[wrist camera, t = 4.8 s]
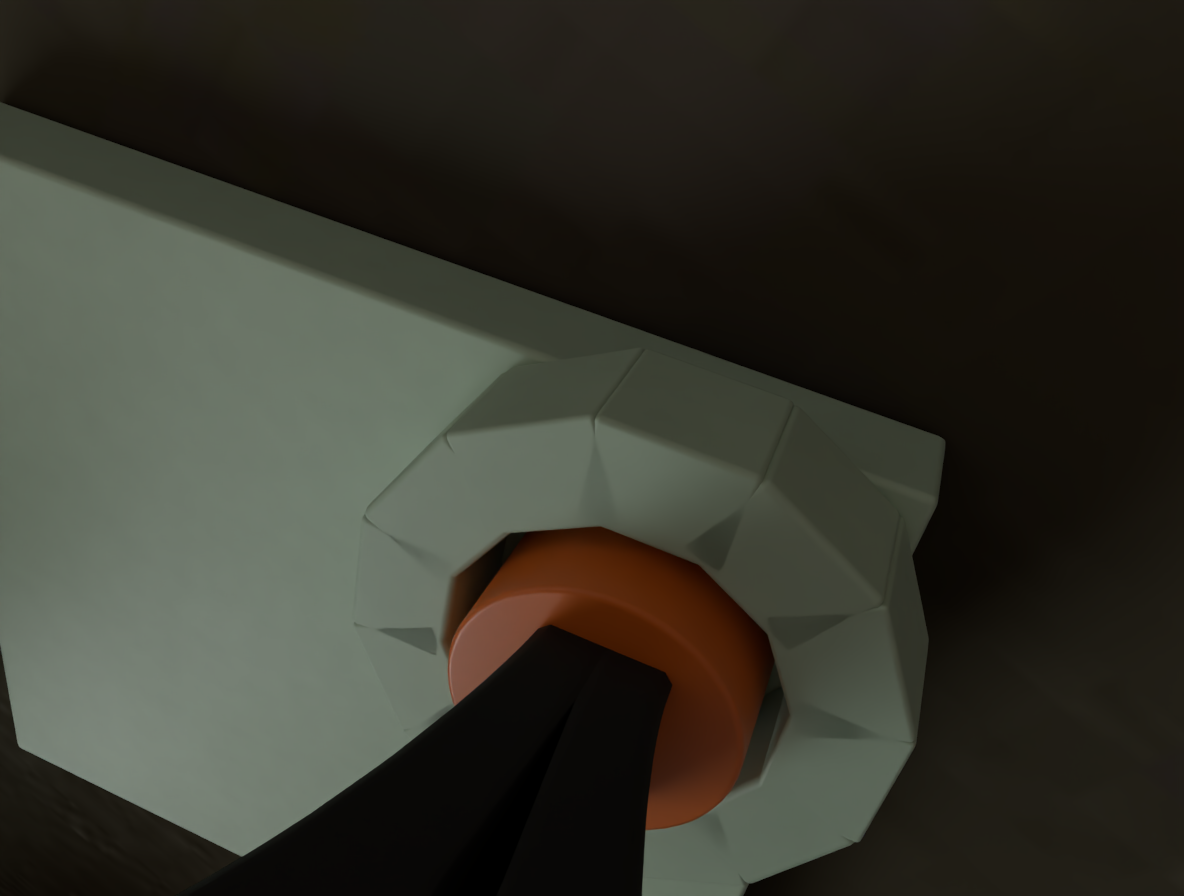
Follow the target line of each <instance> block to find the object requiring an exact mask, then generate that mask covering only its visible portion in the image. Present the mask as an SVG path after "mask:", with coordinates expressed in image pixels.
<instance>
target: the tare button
mask: <svg viewBox="0 0 1184 896" xmlns="http://www.w3.org/2000/svg"><path fill="white" fill-rule="evenodd" d="M548 625H553V626H556V627H558V628H560V629H563V630H565V631H567V632H570V633H572V634H575V635H577V636H579V637H582V638H584V639H587V640H589V641H591V642H594V643H596V644H599V645H601V646H603V647H606V648H608V649H611V650H613V651H615V652H618V653H620V654H622V655H625V656H627V657H630V658H632V659H634V660H637V661H639V662H642V663H644V664H646V665H649V666H651V667H654V668H656V669H658V670H661V671H663V672H665V673H666V675H667V676H668V678H669V680H670V682H671V683H672V688H671V691H670V694H669V697H668V699H667V702H666V705H665V708H664V711H663V715H662V719H661V723H660V727H659V732H658V736H657V742H656V747H655V753H654V758H653V766H652V773H651V781H650V788H649V796H648V806H647V817H646V830H656V829H665V828H670V827H675V826H679V825H682V824H685V823H688V822H690V821H693V820H696V819H697V818H699V817H701V816H703V815H705V814H706V813H708V812H709V811H711V810H712V809H713V808H714V807H716V806H717V805H718V804H719V803H720V802H722V801H723V799H724V798H725V797H726V796H727V795H728V794H729V792H730V791H731V790H732V789H733V787H734V785H735V783H736V781H737V780H738V778H739V775H740V772H741V769H742V766H743V763H744V760H745V757H746V753H747V750H748V747H749V744H750V740H751V737H752V734H753V730H754V727H755V724H756V721H757V717H758V714H759V711H760V708H761V704H762V701H763V698H764V695H765V691H766V688H767V685H768V682H769V678H770V675H771V672H772V669H773V665H774V662H775V660H774V656H773V653H772V649H771V645H770V642H769V638H768V634H767V633H766V632H765V631H764V630H763V629H762V628H761V627H760V626H759V625H758V624H757V623H756V622H755V621H754V620H753V619H752V618H751V617H750V616H749V615H748V614H747V613H746V612H745V611H744V610H743V609H742V608H741V607H740V606H739V605H738V604H737V603H736V602H735V601H734V600H733V599H732V598H731V597H730V596H729V595H728V594H727V593H726V592H725V591H724V590H723V589H722V588H721V587H720V586H719V585H718V584H717V583H716V582H715V581H714V580H713V579H712V578H711V577H710V576H709V575H708V574H707V573H706V572H705V571H704V570H703V569H702V568H701V567H700V566H699V565H698V564H695V563H693V562H690V561H688V560H685V559H682V558H680V557H677V556H675V555H672V554H670V553H667V552H665V551H662V550H660V549H657V548H655V547H652V546H650V545H647V544H645V543H642V542H639V541H637V540H634V539H632V538H629V537H627V536H624V535H622V534H619V533H617V532H614V531H612V530H609V529H607V528H604V527H602V526H598V527H584V528H571V529H557V530H543V531H530V532H526V534H525V535H524V536H523V538H522V539H521V540H520V542H519V543H518V545H517V546H516V547H515V549H514V550H513V552H512V553H511V554H510V556H509V557H508V558H507V560H506V561H505V563H504V564H503V565H502V567H501V568H500V570H499V571H498V572H497V574H496V575H495V577H494V578H493V579H492V581H491V582H490V583H489V585H488V586H487V588H486V589H485V590H484V592H483V593H482V595H481V596H480V597H479V599H478V600H477V602H476V603H475V604H474V606H473V607H472V608H471V610H470V611H469V613H468V614H467V615H466V617H465V618H464V620H463V621H462V622H461V624H460V625H459V627H458V629H457V631H456V633H455V635H454V637H453V640H452V643H451V647H450V651H449V659H448V683H449V689H450V693H451V697H452V701H453V704H454V706H455V705H457V704H458V703H459V702H460V701H461V700H462V699H464V698H465V697H466V696H467V695H468V694H469V693H471V692H472V691H473V690H474V689H475V688H476V687H478V686H479V685H480V684H481V683H482V682H483V681H484V680H486V679H487V678H488V677H489V676H490V675H491V674H492V673H493V672H494V671H496V670H497V669H498V668H499V667H500V666H501V665H502V664H503V663H504V662H505V661H506V660H507V659H508V658H509V657H511V656H512V655H513V654H514V653H515V652H516V651H517V650H518V649H519V648H520V647H521V646H522V645H523V644H524V643H525V642H526V641H527V640H528V639H529V638H530V637H531V636H532V635H533V633H534V632H535V631H536V630H537V629H538V628H541V627H544V626H548Z"/></svg>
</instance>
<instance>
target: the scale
mask: <svg viewBox="0 0 1184 896" xmlns="http://www.w3.org/2000/svg"><path fill="white" fill-rule="evenodd" d="M944 453H945V440H944V439H943V438H941V437H940V436H937V435H934V434H931V433H928V432H926V431H923V430H920V429H917V428H914V427H912V426H909V425H906V424H903V423H900V422H898V421H895V420H892V419H889V418H886V417H884V416H881V415H878V414H875V413H872V412H869V411H867V410H864V409H861V408H858V407H855V406H853V405H850V404H847V403H844V402H841V401H839V400H836V399H833V398H830V397H827V396H824V395H822V394H819V393H816V392H813V391H810V390H808V389H805V388H802V387H799V386H796V385H794V384H791V383H788V382H785V381H782V380H780V379H777V378H774V377H771V376H768V375H765V374H763V373H760V372H757V371H754V370H751V369H749V368H746V367H743V366H740V365H737V364H735V363H732V362H729V361H726V360H723V359H721V358H718V357H715V356H712V355H709V354H706V353H704V352H701V351H698V350H695V349H692V348H690V347H687V346H684V345H681V344H678V343H676V342H673V341H670V340H667V339H664V338H661V337H659V336H656V335H653V334H650V333H647V332H645V331H642V330H639V329H636V328H633V327H631V326H628V325H625V324H622V323H619V322H617V321H614V320H611V319H608V318H605V317H602V316H600V315H597V314H594V313H591V312H588V311H586V310H583V309H580V308H577V307H574V306H572V305H569V304H566V303H563V302H560V301H558V300H555V299H552V298H549V297H546V296H543V295H541V294H538V293H535V292H532V291H529V290H527V289H524V288H521V287H518V286H515V285H513V284H510V283H507V282H504V281H501V280H498V279H496V278H493V277H490V276H487V275H484V274H482V273H479V272H476V271H473V270H470V269H468V268H465V267H462V266H459V265H456V264H454V263H451V262H448V261H445V260H442V259H439V258H437V257H434V256H431V255H428V254H425V253H423V252H420V251H417V250H414V249H411V248H409V247H406V246H403V245H400V244H397V243H395V242H392V241H389V240H386V239H383V238H380V237H378V236H375V235H372V234H369V233H366V232H364V231H361V230H358V229H355V228H352V227H350V226H347V225H344V224H341V223H338V222H335V221H333V220H330V219H327V218H324V217H321V216H319V215H316V214H313V213H310V212H307V211H305V210H302V209H299V208H296V207H293V206H291V205H288V204H285V203H282V202H279V201H276V200H274V199H271V198H268V197H265V196H262V195H260V194H257V193H254V192H251V191H248V190H246V189H243V188H240V187H237V186H234V185H232V184H229V183H226V182H223V181H220V180H217V179H215V178H212V177H209V176H206V175H203V174H201V173H198V172H195V171H192V170H189V169H187V168H184V167H181V166H178V165H175V164H172V163H170V162H167V161H164V160H161V159H158V158H156V157H153V156H150V155H147V154H144V153H142V152H139V151H136V150H133V149H130V148H128V147H125V146H122V145H119V144H116V143H113V142H111V141H108V140H105V139H102V138H99V137H97V136H94V135H91V134H88V133H85V132H83V131H80V130H77V129H74V128H71V127H69V126H66V125H63V124H60V123H57V122H54V121H52V120H49V119H46V118H43V117H40V116H38V115H35V114H32V113H29V112H26V111H24V110H21V109H18V108H15V107H12V106H9V105H7V104H4V103H1V102H0V646H1V651H2V657H3V663H4V668H5V674H6V680H7V685H8V691H9V697H10V702H11V708H12V714H13V719H14V725H15V731H16V736H17V742H18V745H19V747H20V748H22V749H24V750H26V751H28V752H30V753H32V754H34V755H36V756H38V757H40V758H42V759H44V760H46V761H48V762H50V763H52V764H54V765H57V766H59V767H61V768H63V769H65V770H67V771H69V772H71V773H73V774H75V775H77V776H79V777H81V778H83V779H85V780H87V781H89V782H91V783H93V784H95V785H97V786H99V787H101V788H103V789H105V790H107V791H109V792H111V793H113V794H116V795H118V796H120V797H122V798H124V799H126V800H128V801H130V802H132V803H134V804H136V805H138V806H140V807H142V808H144V809H146V810H148V811H150V812H152V813H154V814H156V815H158V816H160V817H162V818H164V819H166V820H168V821H170V822H172V823H175V824H177V825H179V826H181V827H183V828H185V829H187V830H189V831H191V832H193V833H195V834H197V835H199V836H201V837H203V838H205V839H207V840H209V841H211V842H213V843H215V844H217V845H219V846H221V847H223V848H225V849H227V850H229V851H231V852H234V853H236V854H238V855H240V856H244V855H246V854H247V853H249V852H251V851H252V850H254V849H256V848H257V847H259V846H260V845H262V844H264V843H265V842H267V841H268V840H270V839H272V838H273V837H275V836H276V835H278V834H280V833H281V832H283V831H284V830H286V829H287V828H289V827H290V826H292V825H293V824H295V823H297V822H298V821H300V820H301V819H303V818H304V817H306V816H307V815H309V814H310V813H312V812H313V811H315V810H316V809H317V808H319V807H320V806H322V805H323V804H325V803H326V802H327V801H329V800H330V799H332V798H333V797H335V796H336V795H337V794H339V793H340V792H342V791H343V790H345V789H346V788H347V787H349V786H350V785H352V784H353V783H354V782H356V781H357V780H359V779H360V778H362V777H363V776H364V775H366V774H367V773H369V772H370V771H372V770H373V769H374V768H376V767H377V766H379V765H380V764H381V763H383V762H384V761H385V760H387V759H388V758H389V757H391V756H392V755H393V754H395V753H396V752H397V751H399V750H400V749H401V748H402V747H404V746H405V745H406V744H408V743H409V742H410V741H411V740H413V739H414V738H415V737H416V736H418V735H419V734H420V733H421V732H423V731H424V730H425V729H427V728H428V727H429V726H430V725H432V724H433V723H434V722H435V721H437V720H438V719H439V718H440V717H442V716H443V715H444V714H446V713H447V712H448V711H449V710H451V709H452V708H453V707H454V704H453V701H452V697H451V693H450V689H449V683H448V659H449V651H450V647H451V643H452V640H453V637H454V635H455V633H456V631H457V629H458V627H459V625H460V624H461V622H462V621H463V620H464V618H465V617H466V615H467V614H468V613H469V611H470V610H471V608H472V607H473V606H474V604H475V603H476V602H477V600H478V599H479V597H480V596H481V595H482V593H483V592H484V590H485V589H486V588H487V586H488V585H489V583H490V582H491V581H492V579H493V578H494V577H495V575H496V574H497V572H498V571H499V570H500V568H501V567H502V565H503V564H504V563H505V561H506V560H507V558H508V557H509V556H510V554H511V553H512V552H513V550H514V549H515V547H516V546H517V545H518V543H519V542H520V540H521V539H522V538H523V536H524V535H525V534H526V532H530V531H543V530H557V529H571V528H584V527H598V526H602V527H604V528H607V529H609V530H612V531H614V532H617V533H619V534H622V535H624V536H627V537H629V538H632V539H634V540H637V541H639V542H642V543H645V544H647V545H650V546H652V547H655V548H657V549H660V550H662V551H665V552H667V553H670V554H672V555H675V556H677V557H680V558H682V559H685V560H688V561H690V562H693V563H695V564H698V565H699V566H700V567H701V568H702V569H703V570H704V571H705V572H706V573H707V574H708V575H709V576H710V577H711V578H712V579H713V580H714V581H715V582H716V583H717V584H718V585H719V586H720V587H721V588H722V589H723V590H724V591H725V592H726V593H727V594H728V595H729V596H730V597H731V598H732V599H733V600H734V601H735V602H736V603H737V604H738V605H739V606H740V607H741V608H742V609H743V610H744V611H745V612H746V613H747V614H748V615H749V616H750V617H751V618H752V619H753V620H754V621H755V622H756V623H757V624H758V625H759V626H760V627H761V628H762V629H763V630H764V631H765V632H766V633H767V634H768V638H769V642H770V645H771V649H772V653H773V656H774V660H775V662H774V665H773V669H772V672H771V675H770V678H769V682H768V685H767V688H766V691H765V695H764V698H763V701H762V704H761V708H760V711H759V714H758V717H757V721H756V724H755V727H754V730H753V734H752V737H751V740H750V744H749V747H748V750H747V753H746V757H745V760H744V763H743V766H742V769H741V772H740V775H739V778H738V780H737V781H736V783H735V785H734V787H733V789H732V790H731V791H730V792H729V794H728V795H727V796H726V797H725V798H724V799H723V801H722V802H720V803H719V804H718V805H717V806H716V807H714V808H713V809H712V810H711V811H709V812H708V813H706V814H705V815H703V816H701V817H699V818H697V819H696V820H693V821H690V822H688V823H685V824H682V825H679V826H675V827H670V828H665V829H656V830H645V848H644V865H643V883H642V896H743V895H744V893H745V891H746V889H747V887H748V885H749V883H754V882H757V881H759V880H762V879H765V878H767V877H770V876H772V875H775V874H778V873H780V872H783V871H785V870H788V869H790V868H793V867H796V866H798V865H801V864H803V863H806V862H808V861H811V860H814V859H816V858H819V857H821V856H824V855H826V854H829V853H832V852H834V851H837V850H839V849H842V848H844V847H847V846H850V845H851V844H853V843H854V842H859V841H860V840H861V839H862V838H863V836H864V834H865V832H866V831H867V829H868V827H869V826H870V824H871V822H872V820H873V819H874V817H875V815H876V813H877V812H878V810H879V808H880V807H881V805H882V803H883V801H884V800H885V798H886V796H887V794H888V793H889V791H890V789H891V788H892V786H893V784H894V782H895V781H896V779H897V777H898V775H899V774H900V772H901V770H902V769H903V767H904V765H905V763H906V762H907V760H908V758H909V756H910V755H911V753H912V751H913V750H914V748H915V746H916V741H917V733H918V725H919V717H920V709H921V700H922V692H923V684H924V676H925V668H926V660H927V651H928V642H929V638H928V633H927V628H926V623H925V618H924V613H923V608H922V603H921V598H920V593H919V588H918V583H917V578H916V573H915V568H914V563H913V558H912V555H913V553H914V551H915V549H916V547H917V545H918V543H919V541H920V539H921V537H922V535H923V533H924V531H925V529H926V527H927V525H928V523H929V521H930V519H931V517H932V515H933V513H934V511H935V509H936V506H937V504H938V498H939V490H940V483H941V475H942V468H943V461H944Z"/></svg>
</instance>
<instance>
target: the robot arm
mask: <svg viewBox="0 0 1184 896" xmlns="http://www.w3.org/2000/svg"><path fill="white" fill-rule="evenodd" d="M671 688H672V683H671V682H670V680H669V678H668V676H667V675H666V673H665V672H663V671H661V670H658V669H656V668H654V667H651V666H649V665H646V664H644V663H642V662H639V661H637V660H634V659H632V658H630V657H627V656H625V655H622V654H620V653H618V652H615V651H613V650H611V649H608V648H606V647H603V646H601V645H599V644H596V643H594V642H591V641H589V640H587V639H584V638H582V637H579V636H577V635H575V634H572V633H570V632H567V631H565V630H563V629H560V628H558V627H556V626H553V625H548V626H544V627H541V628H538V629H537V630H536V631H535V632H534V633H533V635H532V636H531V637H530V638H529V639H528V640H527V641H526V642H525V643H524V644H523V645H522V646H521V647H520V648H519V649H518V650H517V651H516V652H515V653H514V654H513V655H512V656H511V657H509V658H508V659H507V660H506V661H505V662H504V663H503V664H502V665H501V666H500V667H499V668H498V669H497V670H496V671H494V672H493V673H492V674H491V675H490V676H489V677H488V678H487V679H486V680H484V681H483V682H482V683H481V684H480V685H479V686H478V687H476V688H475V689H474V690H473V691H472V692H471V693H469V694H468V695H467V696H466V697H465V698H464V699H462V700H461V701H460V702H459V703H458V704H457V705H455V706H454V707H453V708H452V709H451V710H449V711H448V712H447V713H446V714H444V715H443V716H442V717H440V718H439V719H438V720H437V721H435V722H434V723H433V724H432V725H430V726H429V727H428V728H427V729H425V730H424V731H423V732H421V733H420V734H419V735H418V736H416V737H415V738H414V739H413V740H411V741H410V742H409V743H408V744H406V745H405V746H404V747H402V748H401V749H400V750H399V751H397V752H396V753H395V754H393V755H392V756H391V757H389V758H388V759H387V760H385V761H384V762H383V763H381V764H380V765H379V766H377V767H376V768H374V769H373V770H372V771H370V772H369V773H367V774H366V775H364V776H363V777H362V778H360V779H359V780H357V781H356V782H354V783H353V784H352V785H350V786H349V787H347V788H346V789H345V790H343V791H342V792H340V793H339V794H337V795H336V796H335V797H333V798H332V799H330V800H329V801H327V802H326V803H325V804H323V805H322V806H320V807H319V808H317V809H316V810H315V811H313V812H312V813H310V814H309V815H307V816H306V817H304V818H303V819H301V820H300V821H298V822H297V823H295V824H293V825H292V826H290V827H289V828H287V829H286V830H284V831H283V832H281V833H280V834H278V835H276V836H275V837H273V838H272V839H270V840H268V841H267V842H265V843H264V844H262V845H260V846H259V847H257V848H256V849H254V850H252V851H251V852H249V853H247V854H246V855H244V856H242V857H241V858H239V859H237V860H236V861H234V862H232V863H231V864H229V865H227V866H226V867H224V868H222V869H221V870H219V871H217V872H216V873H214V874H212V875H211V876H209V877H207V878H206V879H204V880H202V881H200V882H199V883H197V884H195V885H193V886H191V887H190V888H188V889H186V890H184V891H182V892H180V893H179V894H177V895H175V896H642V883H643V865H644V848H645V830H646V817H647V806H648V796H649V788H650V781H651V773H652V766H653V758H654V753H655V747H656V742H657V736H658V732H659V727H660V723H661V719H662V715H663V711H664V708H665V705H666V702H667V699H668V697H669V694H670V691H671Z"/></svg>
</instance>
